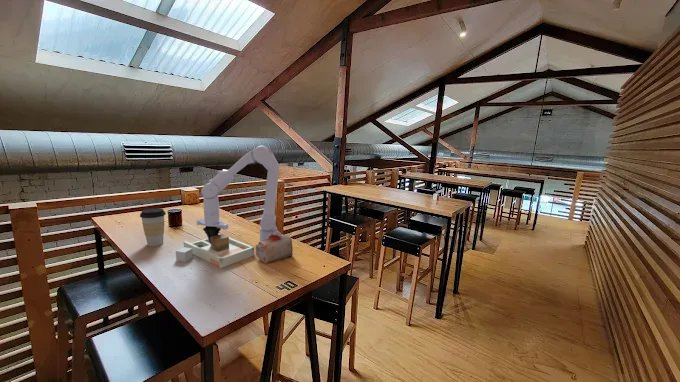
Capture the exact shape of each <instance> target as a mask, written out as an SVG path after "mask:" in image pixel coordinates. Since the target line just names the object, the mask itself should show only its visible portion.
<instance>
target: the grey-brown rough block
mask: <svg viewBox="0 0 680 382" xmlns="http://www.w3.org/2000/svg"><path fill="white" fill-rule="evenodd" d="M292 255H293V256H294V254H293V239H292V237H290V236H289V235H286V234H282V236H278V235H273V234H271V235H270V236H269V239H265V240H262V241H260V240H259V241H258V243H257V244H256V245H255V256H256V257H257V258H258V259H259V260H260V261H262V263H264V264H265V265H267V264H270V263H272V262H276V261H278V260H282V259H286V258H289V257H292Z"/></svg>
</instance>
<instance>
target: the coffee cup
mask: <svg viewBox="0 0 680 382" xmlns="http://www.w3.org/2000/svg"><path fill="white" fill-rule="evenodd" d="M166 214H167V213H166V211H165V210H164V208H161V207H152V208H151V207H150V208H145V209H143V210H141V212H140V213H139V218H141V221H142V227H143V233H144V236H145V240H146V244H147V246H148V247H158V246H161V245H163V244H164V234H165V216H166Z"/></svg>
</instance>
